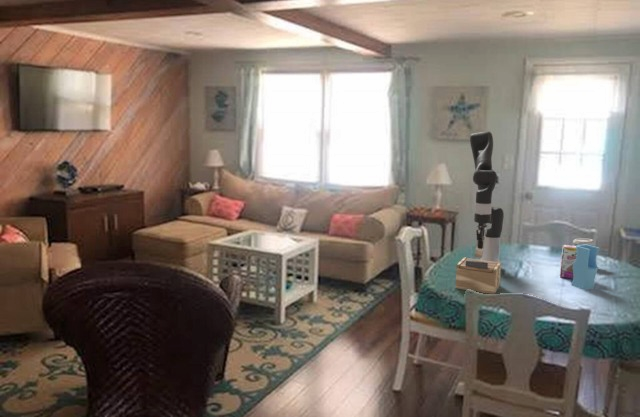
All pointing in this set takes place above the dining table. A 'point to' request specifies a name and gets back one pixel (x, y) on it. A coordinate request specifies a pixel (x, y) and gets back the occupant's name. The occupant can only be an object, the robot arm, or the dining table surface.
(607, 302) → the dining table surface
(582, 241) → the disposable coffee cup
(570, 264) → the candy bar box
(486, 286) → the toolbox
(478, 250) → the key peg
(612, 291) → the dining table surface
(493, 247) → the robot arm
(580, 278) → the light-blue file holder
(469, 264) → the toolbox lid
